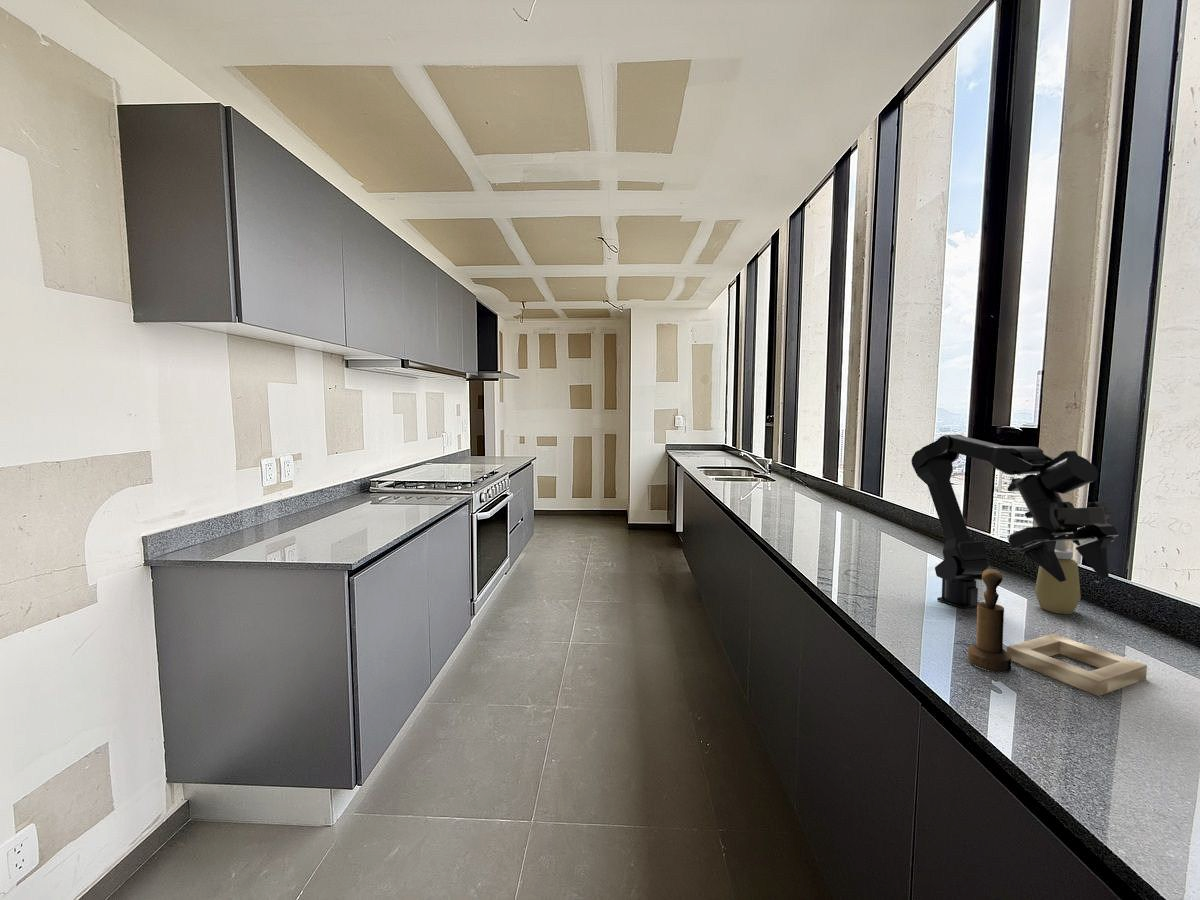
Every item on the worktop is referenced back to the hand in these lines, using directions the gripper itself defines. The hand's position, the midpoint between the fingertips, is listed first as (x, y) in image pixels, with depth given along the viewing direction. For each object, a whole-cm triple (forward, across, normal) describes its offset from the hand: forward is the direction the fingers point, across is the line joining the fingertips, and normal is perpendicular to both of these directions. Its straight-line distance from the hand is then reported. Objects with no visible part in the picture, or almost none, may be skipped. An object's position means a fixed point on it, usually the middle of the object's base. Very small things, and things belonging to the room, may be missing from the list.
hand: (1084, 579), depth 98 cm
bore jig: (+15, -6, +5) cm, 17 cm away
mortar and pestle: (+13, -19, +9) cm, 24 cm away
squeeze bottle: (+2, +18, +26) cm, 32 cm away
